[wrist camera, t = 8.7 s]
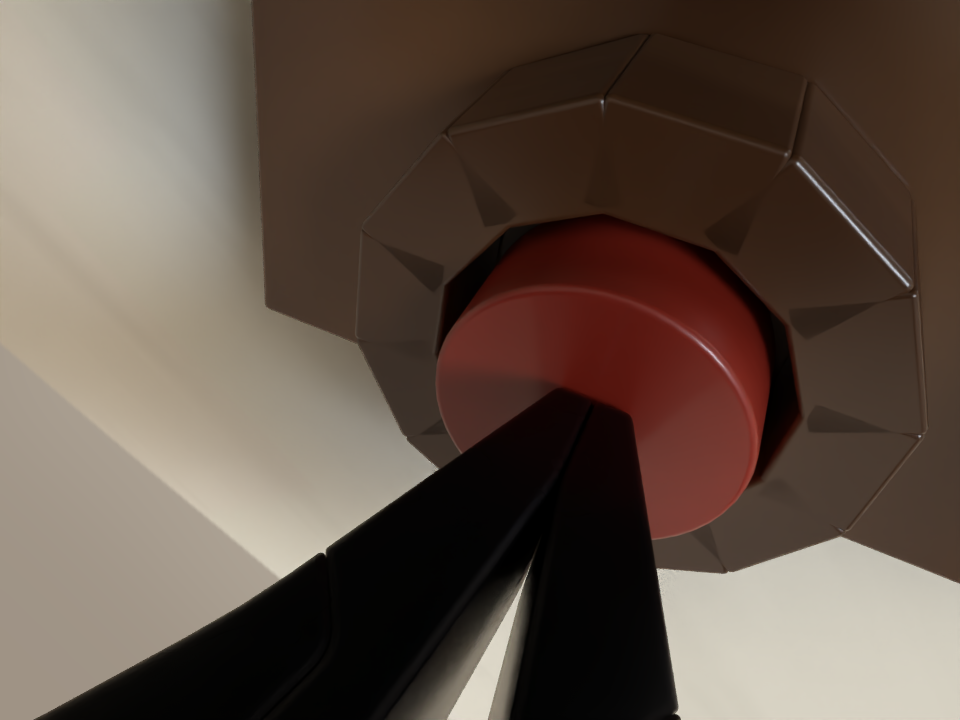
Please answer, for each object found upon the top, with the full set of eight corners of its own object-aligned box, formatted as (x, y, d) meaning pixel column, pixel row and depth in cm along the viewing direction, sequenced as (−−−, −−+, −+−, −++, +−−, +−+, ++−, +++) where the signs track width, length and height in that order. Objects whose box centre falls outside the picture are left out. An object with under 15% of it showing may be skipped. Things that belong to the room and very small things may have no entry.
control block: (1465, -2, 7) (1775, 154, 5) (959, 526, 13) (975, 725, 10) (310, -277, 9) (98, -272, 7) (309, 275, 15) (191, 389, 12)
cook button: (832, 270, 8) (822, 369, 7) (712, 482, 11) (688, 584, 9) (514, 162, 9) (453, 236, 8) (470, 386, 11) (418, 470, 10)
